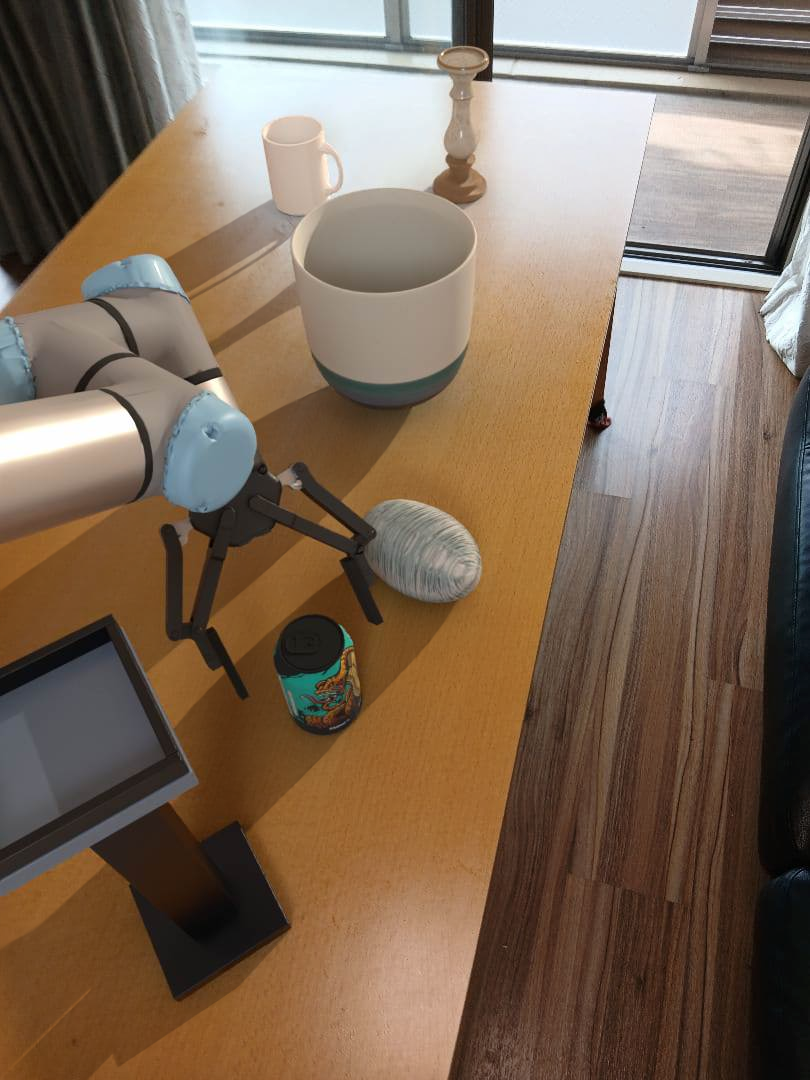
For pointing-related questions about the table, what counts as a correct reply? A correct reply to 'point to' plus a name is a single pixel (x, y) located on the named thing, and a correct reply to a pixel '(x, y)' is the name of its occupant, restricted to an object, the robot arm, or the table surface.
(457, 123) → the candle holder
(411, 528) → the grey streaked ellipsoid
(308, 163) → the mug
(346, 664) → the beverage can
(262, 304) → the table surface
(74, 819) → the pad stand
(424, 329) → the planter
